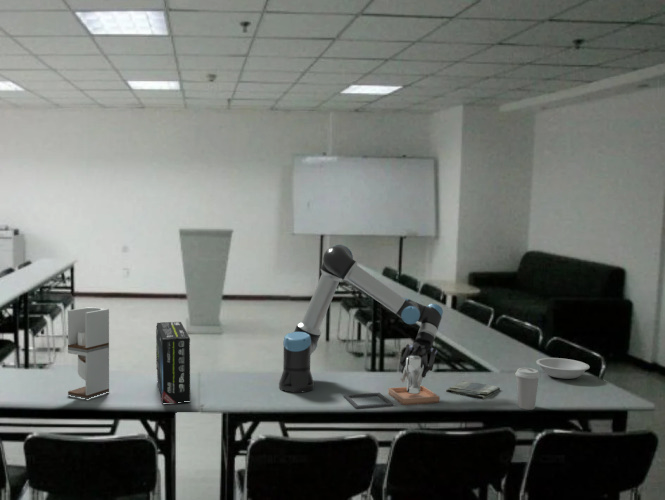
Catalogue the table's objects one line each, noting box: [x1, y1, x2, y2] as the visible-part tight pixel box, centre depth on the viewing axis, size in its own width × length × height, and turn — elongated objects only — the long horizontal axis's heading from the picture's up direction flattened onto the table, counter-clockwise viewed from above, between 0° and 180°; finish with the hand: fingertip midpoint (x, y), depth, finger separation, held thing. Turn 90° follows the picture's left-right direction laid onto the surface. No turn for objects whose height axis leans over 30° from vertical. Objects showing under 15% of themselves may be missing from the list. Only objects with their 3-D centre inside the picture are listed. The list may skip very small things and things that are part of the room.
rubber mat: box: [342, 392, 395, 410], centre depth 256 cm, size 16×16×1 cm
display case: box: [67, 306, 110, 399], centre depth 256 cm, size 11×11×35 cm
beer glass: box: [406, 354, 424, 395], centre depth 261 cm, size 7×7×15 cm
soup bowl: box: [535, 357, 591, 380], centre depth 301 cm, size 24×24×7 cm
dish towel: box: [445, 380, 501, 400], centre depth 274 cm, size 19×18×3 cm
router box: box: [155, 321, 191, 404], centre depth 263 cm, size 36×11×27 cm, turn 20°
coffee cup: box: [514, 367, 541, 411], centre depth 253 cm, size 10×10×15 cm
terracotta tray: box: [387, 385, 440, 406], centre depth 262 cm, size 16×16×2 cm
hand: (410, 381), depth 258 cm, fingers closed on beer glass, 6 cm apart
